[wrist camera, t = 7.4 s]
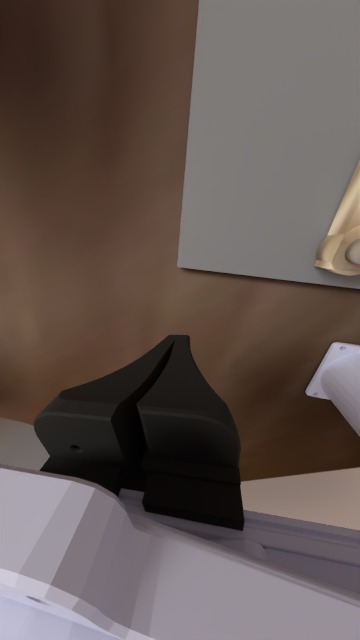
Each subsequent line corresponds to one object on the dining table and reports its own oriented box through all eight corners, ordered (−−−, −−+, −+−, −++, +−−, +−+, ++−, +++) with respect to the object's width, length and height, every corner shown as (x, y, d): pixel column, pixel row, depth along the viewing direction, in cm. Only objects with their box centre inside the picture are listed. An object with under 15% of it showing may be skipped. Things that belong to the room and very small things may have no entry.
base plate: (745, -297, 6) (832, -384, 6) (383, 290, 16) (394, 293, 15) (219, -207, 8) (221, -262, 8) (178, 265, 18) (177, 267, 17)
